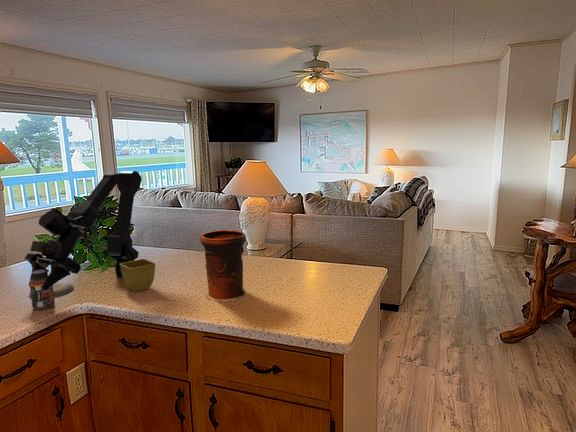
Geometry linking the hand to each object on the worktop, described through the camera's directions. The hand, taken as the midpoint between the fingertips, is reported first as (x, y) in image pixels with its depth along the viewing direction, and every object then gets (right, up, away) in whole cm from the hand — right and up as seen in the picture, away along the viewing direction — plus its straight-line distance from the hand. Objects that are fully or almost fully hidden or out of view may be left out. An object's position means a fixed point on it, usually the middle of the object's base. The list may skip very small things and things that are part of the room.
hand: (36, 287), depth 122 cm
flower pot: (+25, -3, +17) cm, 30 cm away
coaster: (-4, -4, +15) cm, 16 cm away
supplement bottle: (+1, -6, +3) cm, 7 cm away
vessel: (+55, -4, +11) cm, 56 cm away
